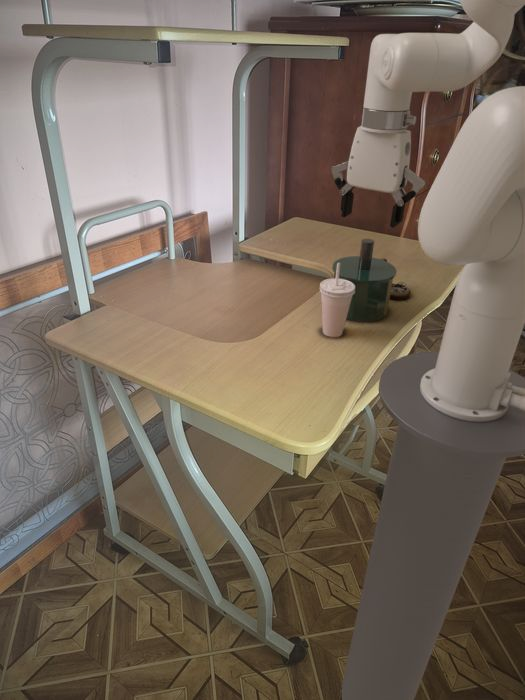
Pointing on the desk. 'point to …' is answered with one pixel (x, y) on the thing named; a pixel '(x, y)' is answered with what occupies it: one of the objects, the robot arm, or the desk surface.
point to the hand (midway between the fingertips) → (369, 220)
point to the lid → (365, 266)
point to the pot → (369, 300)
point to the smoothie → (335, 303)
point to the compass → (399, 290)
